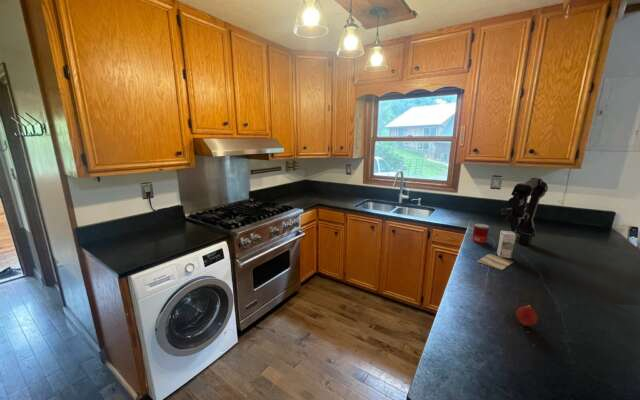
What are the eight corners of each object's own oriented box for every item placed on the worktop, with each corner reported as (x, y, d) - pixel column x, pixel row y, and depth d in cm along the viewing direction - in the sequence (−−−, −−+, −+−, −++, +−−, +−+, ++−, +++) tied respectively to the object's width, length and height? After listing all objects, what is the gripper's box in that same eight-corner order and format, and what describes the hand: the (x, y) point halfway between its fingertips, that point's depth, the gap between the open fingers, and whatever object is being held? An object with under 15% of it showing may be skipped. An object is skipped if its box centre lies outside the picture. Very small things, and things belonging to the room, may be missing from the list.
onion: (510, 319, 95) (514, 300, 93) (525, 319, 95) (529, 299, 93) (523, 331, 89) (528, 310, 87) (539, 330, 90) (544, 310, 88)
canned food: (488, 244, 165) (491, 227, 163) (474, 243, 167) (477, 226, 164) (483, 239, 172) (486, 224, 170) (470, 238, 174) (472, 223, 171)
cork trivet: (488, 254, 150) (489, 253, 150) (513, 262, 140) (513, 261, 140) (476, 261, 140) (476, 261, 140) (501, 270, 131) (501, 269, 131)
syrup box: (507, 254, 150) (512, 231, 146) (511, 259, 144) (516, 234, 141) (496, 253, 151) (500, 229, 148) (499, 257, 146) (503, 233, 143)
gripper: (509, 200, 162) (505, 224, 166) (497, 204, 151) (493, 230, 155) (531, 204, 153) (526, 229, 157) (520, 208, 143) (515, 235, 146)
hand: (515, 230), depth 154 cm, fingers open, 8 cm apart
